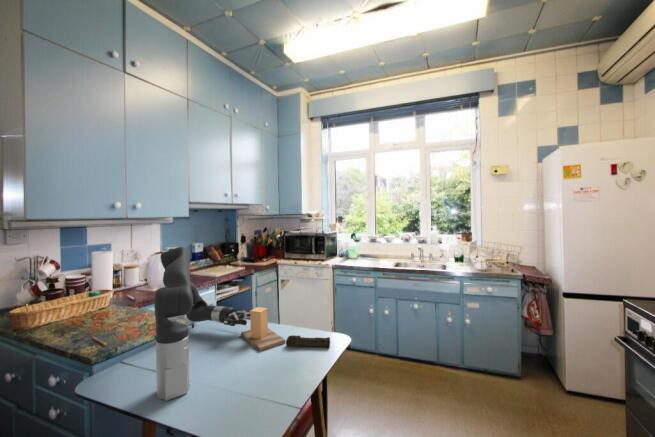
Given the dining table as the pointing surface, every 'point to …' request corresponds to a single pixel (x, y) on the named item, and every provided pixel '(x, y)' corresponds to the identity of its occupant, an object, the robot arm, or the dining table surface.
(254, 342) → the jig plate
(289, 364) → the dining table surface
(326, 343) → the dark brown rough bar
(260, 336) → the light orange rectangular block
